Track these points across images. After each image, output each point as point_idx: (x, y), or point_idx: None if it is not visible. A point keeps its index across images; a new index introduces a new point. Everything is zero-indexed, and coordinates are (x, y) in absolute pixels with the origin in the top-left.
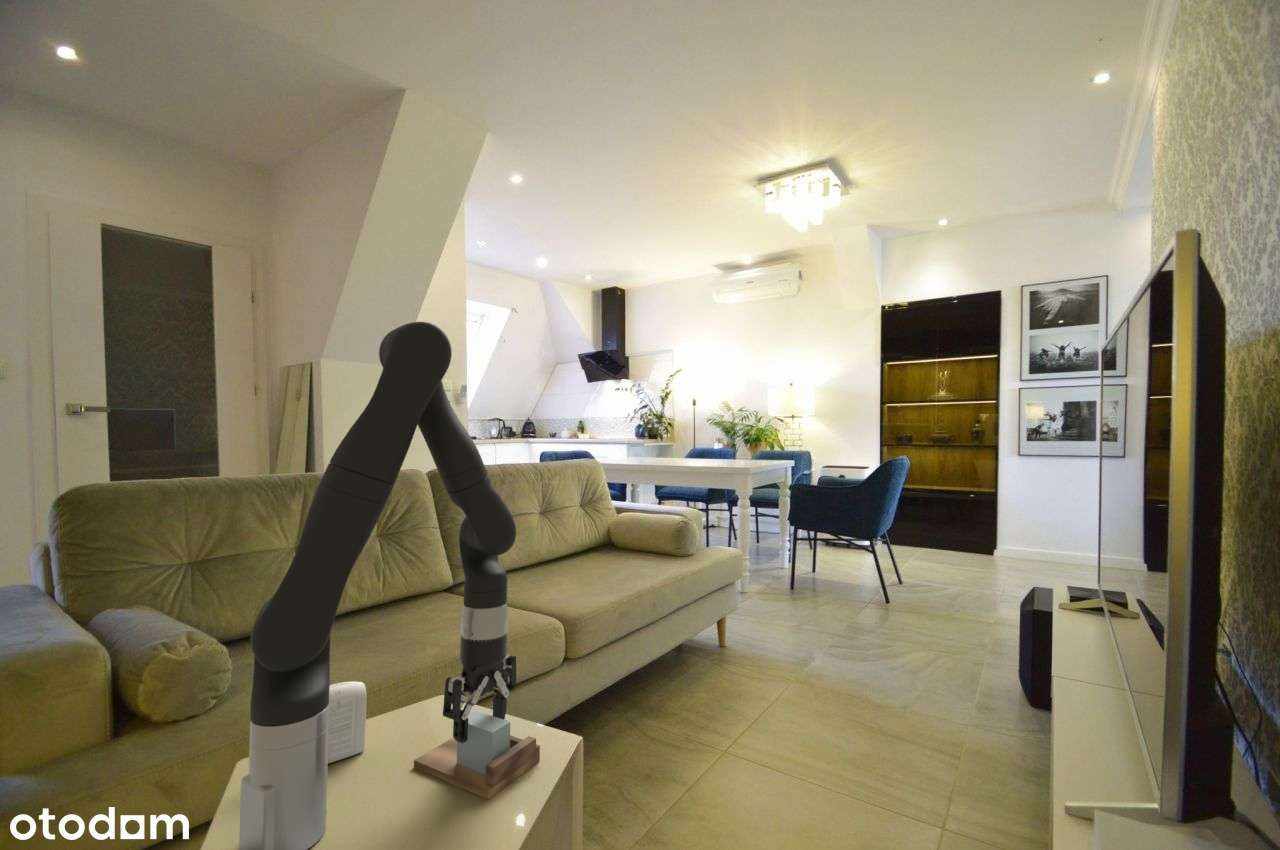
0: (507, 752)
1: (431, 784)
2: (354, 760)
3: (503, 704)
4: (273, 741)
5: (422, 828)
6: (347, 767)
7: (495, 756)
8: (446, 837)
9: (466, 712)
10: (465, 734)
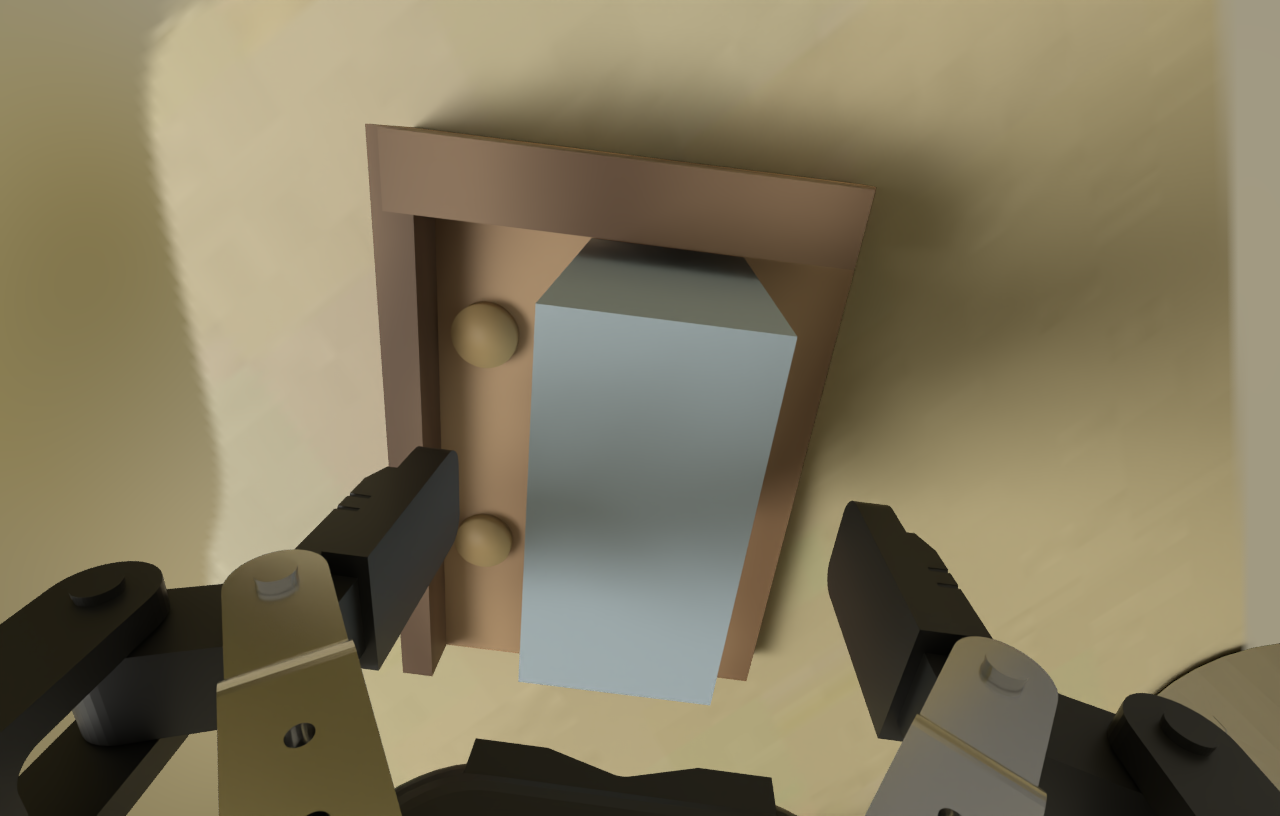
0: (650, 224)
1: (826, 522)
2: None
3: (381, 522)
4: None
5: (1148, 346)
6: None
7: (727, 277)
8: (1211, 184)
9: (999, 697)
10: (898, 535)
